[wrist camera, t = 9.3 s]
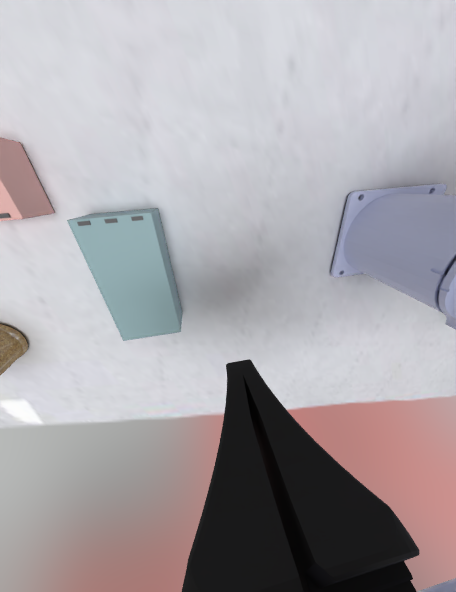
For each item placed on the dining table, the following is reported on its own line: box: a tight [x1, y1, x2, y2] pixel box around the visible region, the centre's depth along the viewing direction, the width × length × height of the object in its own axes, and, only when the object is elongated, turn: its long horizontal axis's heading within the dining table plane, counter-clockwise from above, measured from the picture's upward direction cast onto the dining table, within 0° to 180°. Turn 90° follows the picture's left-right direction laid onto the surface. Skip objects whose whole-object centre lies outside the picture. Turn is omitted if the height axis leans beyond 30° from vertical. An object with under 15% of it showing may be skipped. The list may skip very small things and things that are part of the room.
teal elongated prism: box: [67, 208, 182, 341], centre depth 16 cm, size 5×10×3 cm, turn 4°
